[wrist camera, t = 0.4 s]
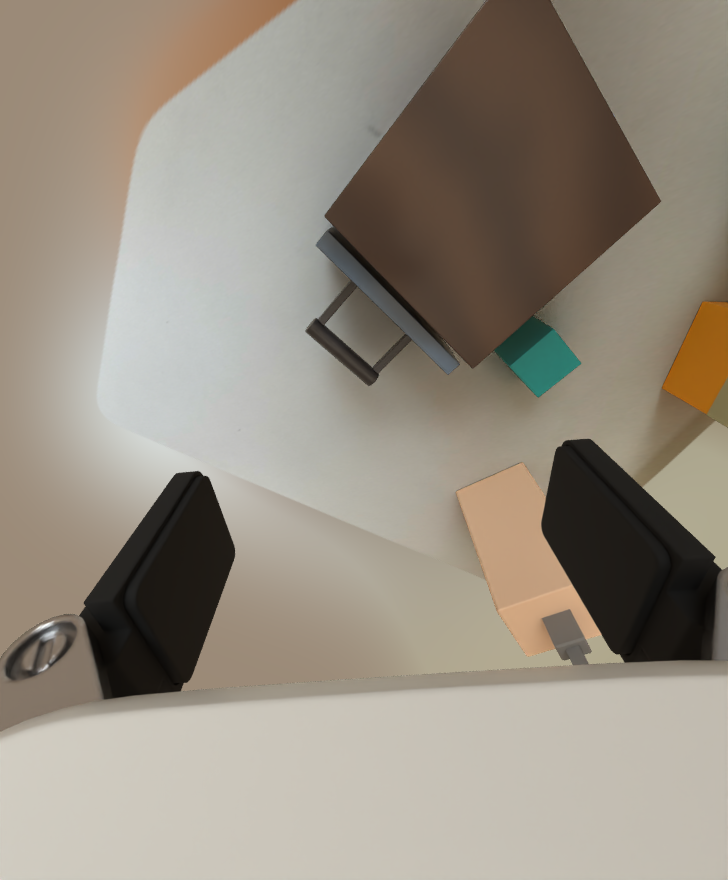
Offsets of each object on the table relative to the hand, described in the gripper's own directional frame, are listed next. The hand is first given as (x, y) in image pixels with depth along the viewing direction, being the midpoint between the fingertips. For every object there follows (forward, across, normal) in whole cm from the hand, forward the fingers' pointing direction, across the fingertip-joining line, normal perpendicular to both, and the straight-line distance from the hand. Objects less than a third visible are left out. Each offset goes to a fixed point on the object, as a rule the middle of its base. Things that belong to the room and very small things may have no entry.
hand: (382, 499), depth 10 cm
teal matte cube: (+28, -15, +6) cm, 33 cm away
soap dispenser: (+29, -16, +27) cm, 42 cm away
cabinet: (+28, -8, -7) cm, 30 cm away
